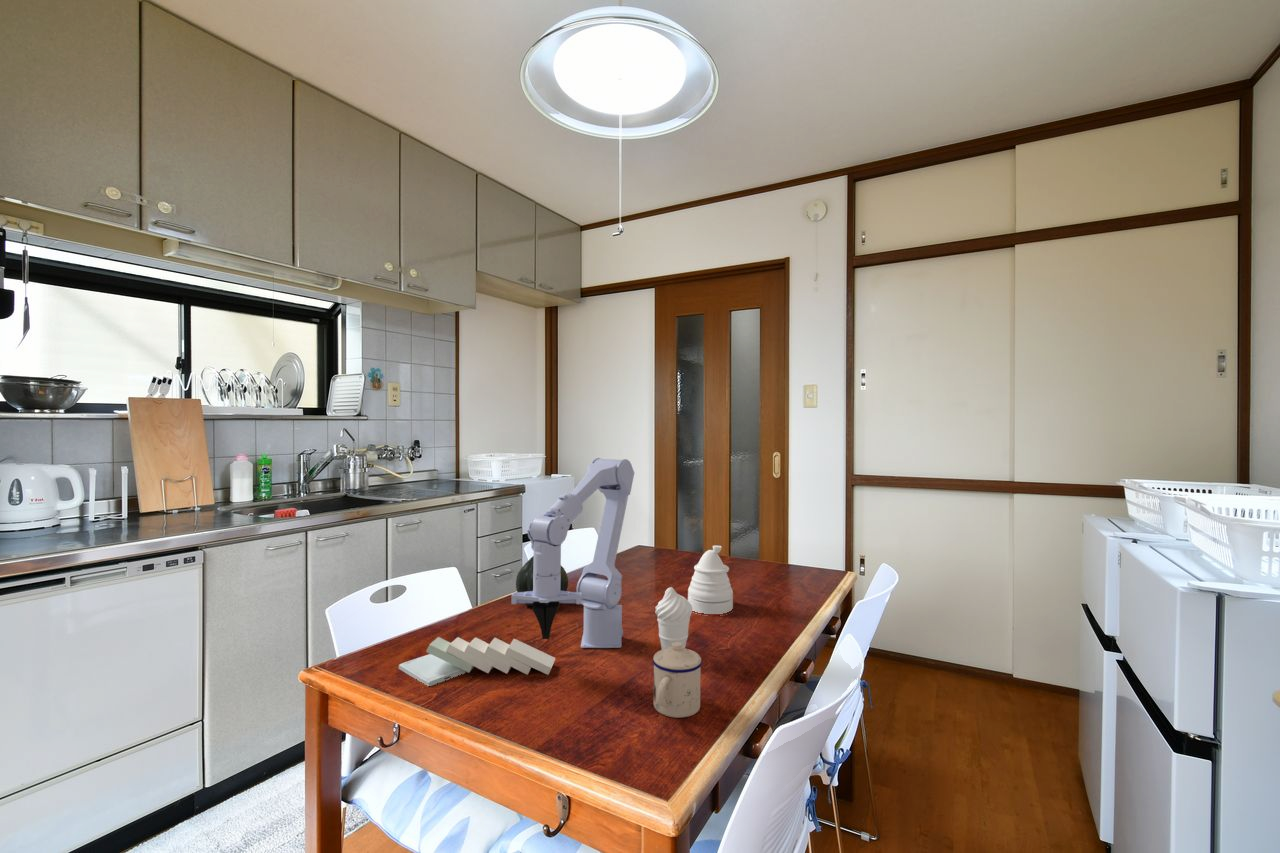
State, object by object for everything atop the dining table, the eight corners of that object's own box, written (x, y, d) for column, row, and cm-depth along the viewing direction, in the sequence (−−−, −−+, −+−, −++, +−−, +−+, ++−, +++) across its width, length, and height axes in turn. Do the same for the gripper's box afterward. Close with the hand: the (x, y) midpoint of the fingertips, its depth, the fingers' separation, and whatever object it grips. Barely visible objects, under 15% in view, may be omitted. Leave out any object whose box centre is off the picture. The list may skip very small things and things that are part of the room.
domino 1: (479, 657, 119) (438, 636, 119) (472, 665, 114) (429, 644, 114) (476, 664, 119) (435, 643, 119) (469, 672, 114) (425, 651, 114)
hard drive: (398, 664, 117) (428, 681, 109) (434, 652, 123) (465, 667, 115) (398, 671, 117) (428, 689, 109) (434, 659, 123) (465, 675, 115)
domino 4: (535, 658, 119) (494, 637, 119) (530, 667, 114) (487, 646, 114) (532, 664, 119) (491, 644, 119) (527, 674, 114) (484, 653, 114)
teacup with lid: (664, 690, 108) (664, 631, 108) (708, 701, 104) (709, 639, 104) (636, 719, 97) (637, 653, 97) (684, 732, 93) (685, 663, 93)
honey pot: (739, 606, 160) (740, 544, 160) (721, 619, 149) (722, 552, 149) (699, 598, 167) (700, 539, 167) (679, 610, 156) (680, 546, 156)
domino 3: (516, 658, 119) (475, 637, 120) (510, 666, 114) (467, 644, 115) (513, 664, 119) (472, 643, 120) (507, 673, 114) (464, 651, 115)
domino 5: (555, 658, 119) (513, 638, 120) (551, 668, 114) (507, 647, 114) (552, 664, 119) (510, 645, 120) (548, 675, 114) (504, 654, 115)
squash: (555, 595, 151) (564, 546, 161) (503, 594, 153) (516, 546, 163) (567, 617, 161) (575, 570, 171) (518, 615, 163) (529, 569, 173)
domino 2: (498, 658, 119) (457, 636, 120) (491, 666, 114) (449, 644, 115) (495, 664, 119) (454, 643, 120) (488, 673, 114) (445, 651, 115)
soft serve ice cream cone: (695, 654, 125) (696, 584, 125) (686, 670, 117) (687, 594, 118) (660, 649, 128) (661, 580, 128) (649, 664, 120) (650, 590, 120)
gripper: (508, 578, 113) (508, 644, 113) (579, 578, 113) (579, 644, 113) (515, 569, 120) (514, 631, 120) (582, 569, 120) (581, 631, 120)
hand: (546, 637), depth 117 cm, fingers closed
